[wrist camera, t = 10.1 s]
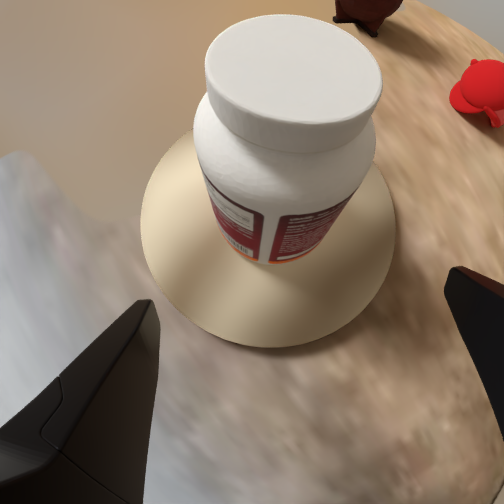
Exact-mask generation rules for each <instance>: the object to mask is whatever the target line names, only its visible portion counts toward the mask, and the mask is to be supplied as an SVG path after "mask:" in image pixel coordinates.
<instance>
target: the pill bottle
mask: <svg viewBox="0 0 504 504" xmlns="http://www.w3.org/2000/svg"><path fill="white" fill-rule="evenodd" d="M205 74H206V83H207V92H206V94H205V95H204V97H203V98H202V100H201V102H200V104H199V106H198V109H197V112H196V115H195V119H194V128H193V137H194V144H195V149H196V153H197V157H198V161H199V164H200V167H201V171H202V174H203V178H204V181H205V184H206V188H207V191H208V194H209V198H210V201H211V205H212V208H213V212H214V215H215V218H216V221H217V225H218V227H219V230H220V232H221V233H222V235H223V237H224V239H225V240H226V242H227V243H228V244H229V245H230V246H231V247H232V248H233V249H234V250H235V251H236V252H237V253H238V254H240V255H241V256H243V257H245V258H247V259H249V260H251V261H254V262H257V263H261V264H266V265H281V264H286V263H291V262H294V261H297V260H299V259H301V258H303V257H305V256H306V255H308V254H309V253H310V252H311V251H313V250H314V249H315V248H316V247H317V246H318V245H319V243H320V242H321V241H322V240H323V238H324V237H325V235H326V234H327V232H328V231H329V229H330V228H331V226H332V225H333V224H334V222H335V221H336V219H337V218H338V216H339V215H340V213H341V212H342V210H343V209H344V207H345V206H346V205H347V203H348V202H349V200H350V199H351V197H352V196H353V195H354V193H355V192H356V190H357V189H358V188H359V186H360V184H361V183H362V181H363V180H364V178H365V176H366V175H367V173H368V171H369V169H370V167H371V164H372V162H373V158H374V154H375V147H376V135H375V128H374V123H373V120H372V117H371V115H372V113H373V111H374V109H375V107H376V105H377V103H378V101H379V99H380V97H381V93H382V87H383V80H382V74H381V71H380V68H379V65H378V63H377V61H376V60H375V58H374V57H373V55H372V54H371V53H370V51H369V50H368V49H367V48H366V47H365V46H364V45H363V44H362V43H361V42H360V41H358V40H357V39H356V38H355V37H353V36H352V35H350V34H349V33H348V32H346V31H343V30H342V29H340V28H338V27H336V26H334V25H332V24H329V23H326V22H324V21H320V20H317V19H314V18H309V17H305V16H298V15H281V14H280V15H278V14H277V15H266V16H259V17H254V18H250V19H247V20H244V21H241V22H238V23H236V24H235V25H232V26H231V27H229V28H227V29H226V30H224V31H223V32H222V33H220V35H218V36H217V37H216V38H215V39H214V41H213V42H212V44H211V45H210V47H209V49H208V51H207V54H206V58H205Z"/></svg>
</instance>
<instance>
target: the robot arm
mask: <svg viewBox="0 0 504 504" xmlns="http://www.w3.org/2000/svg"><path fill="white" fill-rule="evenodd" d="M444 295H445V298H446V300H447V303H448V305H449V307H450V310H451V312H452V315H453V317H454V320H455V322H456V325H457V327H458V330H459V332H460V334H461V337H462V339H463V341H464V343H465V345H466V347H467V349H468V351H469V353H470V356H471V358H472V360H473V362H474V364H475V367H476V369H477V371H478V374H479V376H480V378H481V381H482V383H483V385H484V388H485V390H486V393H487V395H488V398H489V400H490V403H491V406H492V408H493V411H494V414H495V417H496V419H497V422H498V425H499V428H500V431H501V434H502V437H503V441H504V285H503V284H501V283H499V282H497V281H495V280H492V279H490V278H488V277H486V276H484V275H481V274H479V273H477V272H475V271H473V270H470V269H468V268H466V267H463V266H457V267H452V268H451V269H450V271H449V274H448V277H447V281H446V284H445V287H444ZM159 347H160V321H159V318H158V315H157V312H156V308H155V305H154V303H153V301H152V300H151V299H144V300H137V301H136V302H135V303H134V304H133V305H132V306H131V307H129V308H128V309H127V310H126V311H125V312H124V313H123V314H122V315H121V316H120V317H119V318H118V319H116V320H115V321H114V322H113V323H112V324H111V325H110V326H109V327H108V328H107V329H106V330H105V331H104V332H103V333H102V334H101V335H100V336H98V337H97V338H96V339H95V340H94V341H93V342H92V343H91V344H90V345H89V346H88V347H87V348H86V349H85V350H84V351H83V352H82V353H81V354H80V355H79V356H78V357H77V358H76V359H75V360H74V361H72V362H71V363H70V364H69V365H68V366H67V367H66V368H65V369H64V370H63V371H62V372H61V373H60V374H59V377H58V376H57V377H56V378H55V379H54V380H53V381H52V382H51V383H50V384H49V385H48V386H47V387H46V388H45V389H44V390H43V391H42V392H41V393H40V394H39V395H38V396H37V397H36V398H34V399H33V400H32V401H31V402H30V403H29V404H28V405H26V406H25V407H24V408H23V409H22V410H21V411H20V412H18V413H17V414H16V415H15V416H14V417H13V418H11V419H10V420H9V421H8V422H7V423H6V424H4V425H3V426H2V427H1V428H0V504H143V495H144V484H145V473H146V464H147V455H148V446H149V438H150V430H151V422H152V415H153V408H154V401H155V394H156V388H157V381H158V369H159Z"/></svg>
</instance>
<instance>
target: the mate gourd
mask: <svg viewBox="0 0 504 504" xmlns="http://www.w3.org/2000/svg"><path fill="white" fill-rule="evenodd" d="M402 1H403V0H335V5H336V16H334V17H333V21H334V22H335V23H358V24H359V25H360V26H361V27H362V28H363V29H364V30H365V31H366V32H367V33H368V34H369V35H370V36H371V37H377V35H378V33H377V32H376V30H377V29H378V28H379V26H380V25H381V24H382V22H383V21H384V20H385V18H387V17H389V16H391V15H392V14H393V13H394V12H395V11H396V10H397V9H398V8H399V7H400V5H401V3H402Z"/></svg>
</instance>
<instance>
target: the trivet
mask: <svg viewBox="0 0 504 504" xmlns="http://www.w3.org/2000/svg"><path fill="white" fill-rule="evenodd" d="M141 238H142V245H143V250H144V254H145V257H146V260H147V264H148V266H149V269H150V271H151V273H152V275H153V277H154V279H155V281H156V283H157V284H158V286H159V287H160V289H161V291H162V292H163V294H164V295H165V296H166V298H167V299H168V300H169V301H170V302H171V303H172V304H173V305H174V307H175V308H176V309H177V310H178V311H179V312H181V313H182V314H183V315H184V316H185V317H186V318H188V319H189V320H190V321H191V322H193V323H194V324H196V325H197V326H199V327H201V328H202V329H204V330H205V331H207V332H209V333H211V334H214V335H216V336H218V337H220V338H223V339H225V340H228V341H232V342H235V343H239V344H242V345H248V346H256V347H288V346H294V345H301V344H304V343H308V342H311V341H314V340H317V339H320V338H322V337H324V336H327V335H329V334H331V333H333V332H335V331H337V330H338V329H340V328H341V327H343V326H344V325H346V324H347V323H349V322H350V321H351V320H353V319H354V318H355V317H356V316H357V315H358V314H359V313H360V312H362V311H363V310H364V309H365V307H366V306H367V305H368V304H369V303H370V301H371V300H372V299H373V298H374V297H375V295H376V293H377V292H378V290H379V289H380V287H381V285H382V284H383V282H384V279H385V277H386V275H387V273H388V270H389V268H390V264H391V261H392V257H393V253H394V247H395V239H396V220H395V213H394V207H393V203H392V199H391V196H390V192H389V190H388V187H387V185H386V182H385V180H384V178H383V176H382V174H381V173H380V171H379V169H378V167H377V166H376V164H375V163H374V162H372V164H371V167H370V169H369V171H368V173H367V175H366V176H365V178H364V180H363V181H362V183H361V184H360V186H359V188H358V189H357V190H356V192H355V193H354V195H353V196H352V197H351V199H350V200H349V202H348V203H347V205H346V206H345V207H344V209H343V210H342V212H341V213H340V215H339V216H338V218H337V219H336V221H335V222H334V224H333V225H332V226H331V228H330V229H329V231H328V232H327V234H326V235H325V237H324V238H323V240H322V241H321V242H320V243H319V245H318V246H317V247H316V248H315V249H314V250H313V251H311V252H310V253H309V254H308V255H306V256H305V257H303V258H301V259H299V260H297V261H294V262H291V263H286V264H281V265H266V264H261V263H257V262H254V261H251V260H249V259H247V258H245V257H243V256H241V255H240V254H238V253H237V252H236V251H235V250H234V249H233V248H232V247H231V246H230V245H229V244H228V243H227V242H226V240H225V239H224V237H223V235H222V233H221V232H220V230H219V227H218V225H217V221H216V218H215V215H214V212H213V208H212V205H211V201H210V198H209V194H208V191H207V188H206V184H205V181H204V178H203V174H202V171H201V167H200V164H199V161H198V157H197V153H196V149H195V144H194V137H193V129H191V130H190V131H189V132H187V133H186V134H185V135H183V136H182V137H181V138H180V139H179V140H178V141H177V142H176V143H175V144H174V145H173V146H171V147H170V149H169V150H168V151H167V153H166V154H165V155H164V156H163V157H162V159H161V160H160V162H159V163H158V165H157V167H156V169H155V170H154V172H153V174H152V176H151V178H150V181H149V183H148V185H147V188H146V192H145V195H144V199H143V204H142V211H141Z"/></svg>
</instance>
